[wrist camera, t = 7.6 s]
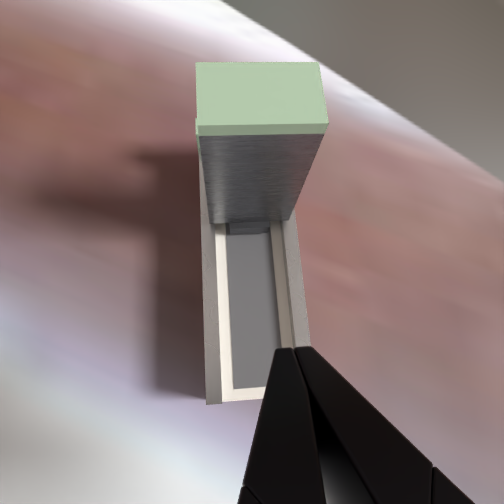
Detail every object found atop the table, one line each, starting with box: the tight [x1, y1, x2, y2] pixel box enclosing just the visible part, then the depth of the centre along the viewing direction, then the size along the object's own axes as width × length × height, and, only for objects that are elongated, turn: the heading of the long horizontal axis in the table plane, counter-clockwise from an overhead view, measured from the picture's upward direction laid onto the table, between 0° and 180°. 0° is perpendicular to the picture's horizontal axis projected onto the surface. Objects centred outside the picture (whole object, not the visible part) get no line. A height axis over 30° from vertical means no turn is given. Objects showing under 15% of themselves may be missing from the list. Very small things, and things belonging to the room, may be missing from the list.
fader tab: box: [196, 62, 329, 234], centre depth 15 cm, size 3×4×8 cm
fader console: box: [196, 118, 311, 405], centre depth 18 cm, size 14×5×4 cm, turn 4°
